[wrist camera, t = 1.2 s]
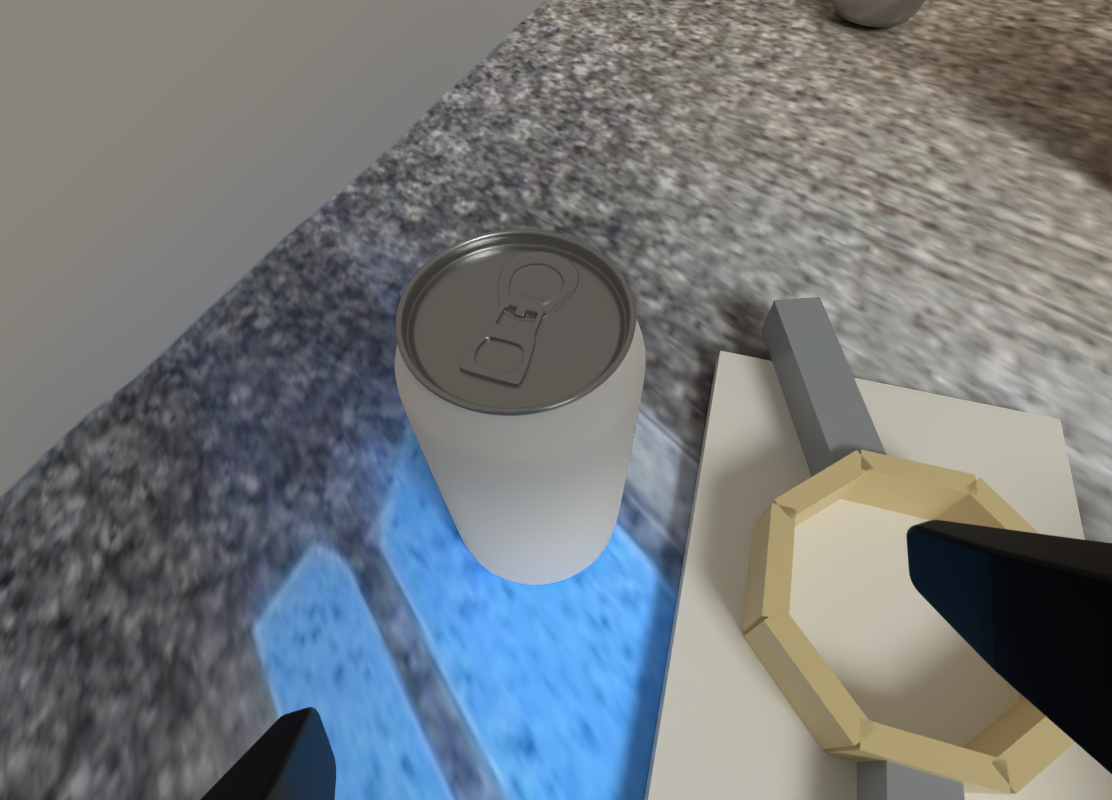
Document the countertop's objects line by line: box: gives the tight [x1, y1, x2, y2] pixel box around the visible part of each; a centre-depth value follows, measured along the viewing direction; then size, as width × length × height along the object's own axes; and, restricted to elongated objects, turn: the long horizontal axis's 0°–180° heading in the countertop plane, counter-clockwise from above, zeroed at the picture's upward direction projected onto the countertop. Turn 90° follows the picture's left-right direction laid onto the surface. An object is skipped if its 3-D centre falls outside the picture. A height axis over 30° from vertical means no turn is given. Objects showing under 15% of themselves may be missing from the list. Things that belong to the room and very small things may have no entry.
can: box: [395, 229, 645, 585], centre depth 19 cm, size 6×6×12 cm
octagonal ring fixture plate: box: [644, 297, 1112, 800], centre depth 20 cm, size 25×14×4 cm, turn 165°
